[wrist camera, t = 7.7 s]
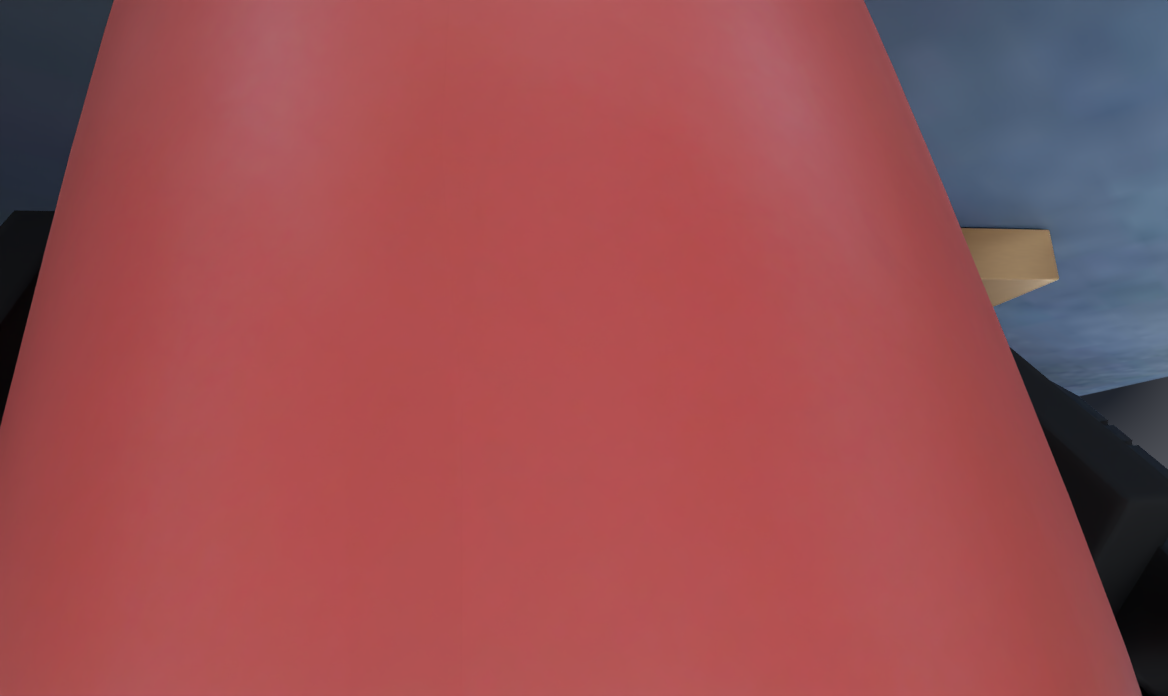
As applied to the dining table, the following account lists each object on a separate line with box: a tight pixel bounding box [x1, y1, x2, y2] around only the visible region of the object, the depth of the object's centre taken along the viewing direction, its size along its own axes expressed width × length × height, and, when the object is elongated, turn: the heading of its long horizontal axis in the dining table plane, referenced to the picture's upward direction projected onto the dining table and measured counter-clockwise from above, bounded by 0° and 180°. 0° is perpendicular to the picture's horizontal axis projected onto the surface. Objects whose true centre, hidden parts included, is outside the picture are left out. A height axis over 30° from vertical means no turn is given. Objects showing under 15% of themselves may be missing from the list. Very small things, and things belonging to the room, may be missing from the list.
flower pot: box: [0, 0, 1142, 696], centre depth 10 cm, size 11×11×10 cm
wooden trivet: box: [961, 228, 1059, 306], centre depth 29 cm, size 20×16×2 cm
